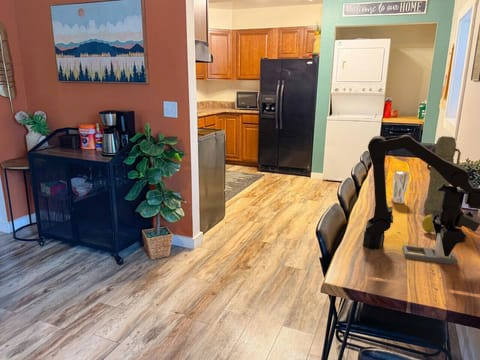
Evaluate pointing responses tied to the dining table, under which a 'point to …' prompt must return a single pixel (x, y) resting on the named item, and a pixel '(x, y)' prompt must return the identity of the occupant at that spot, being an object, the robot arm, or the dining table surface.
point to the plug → (440, 248)
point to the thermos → (434, 197)
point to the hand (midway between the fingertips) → (443, 249)
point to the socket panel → (426, 254)
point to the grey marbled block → (400, 186)
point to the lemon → (428, 224)
